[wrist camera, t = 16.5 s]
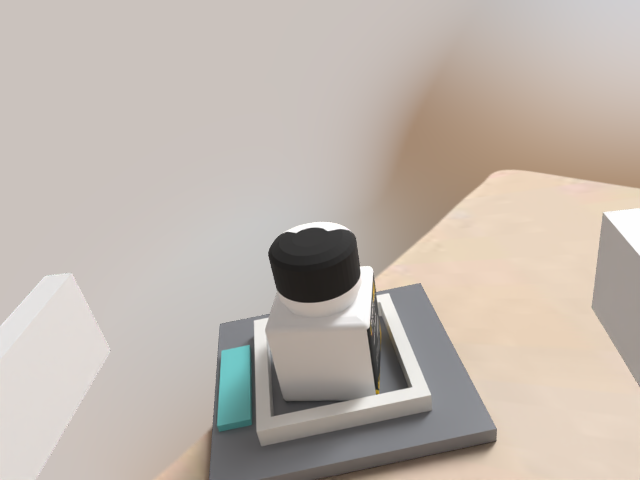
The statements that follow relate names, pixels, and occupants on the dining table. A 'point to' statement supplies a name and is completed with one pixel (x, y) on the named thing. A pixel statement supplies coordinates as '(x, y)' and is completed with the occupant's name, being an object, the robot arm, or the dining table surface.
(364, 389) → the medicine bottle
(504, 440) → the dining table surface
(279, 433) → the dock
